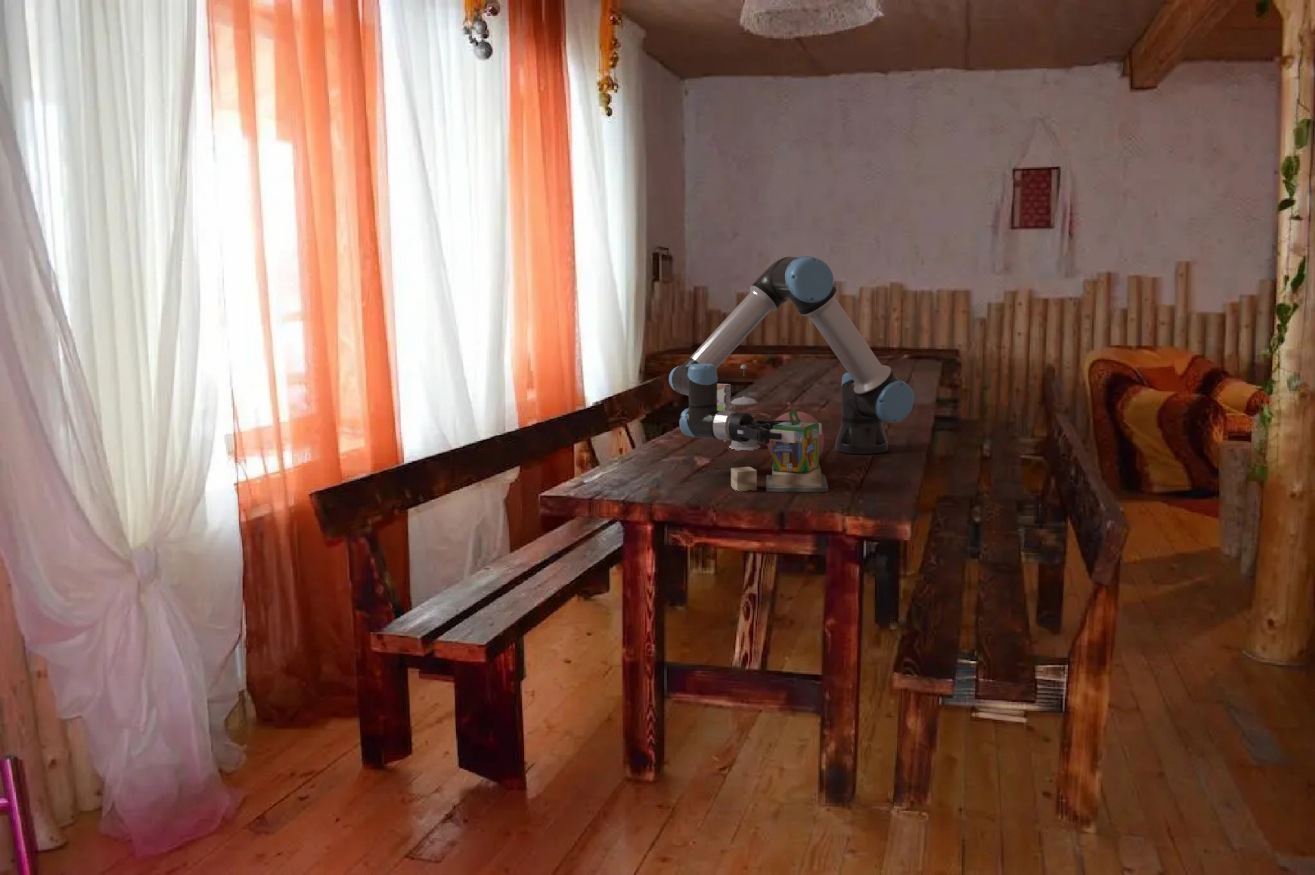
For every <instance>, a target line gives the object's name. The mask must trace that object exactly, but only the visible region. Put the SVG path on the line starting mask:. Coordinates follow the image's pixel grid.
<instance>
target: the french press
mask: <svg viewBox="0 0 1315 875" xmlns="http://www.w3.org/2000/svg"><path fill="white" fill-rule="evenodd" d="M747 368H748V367H747V365H746V364H741V365H740V369H743V370H742V371H743V373H742V374H743V375H745V369H747ZM757 404H758V401H757V400H756V399H754V398H752V397H748V396H745V395H743V396H742V397H741V396H740V397H737V398H734V399H733V400H731V406H730V407H728V408H729V410H730V408H731V411H732V412H735V411H736V406H743V413H746V412H745V406H755V405H757ZM728 408H727V409H728ZM733 408H734V409H733ZM727 409H726V410H727ZM726 410H725V411H726ZM729 410H728V411H729ZM749 414H750V415H751V416H752V417H753V420H754V421H756V420H757V419H754V418H756V417H757V415H756V414H754V413H749ZM728 447H729V448H731V449H735V450H734V451H740V450H748V451H755V450H754V449H756V450H759V449H758V448H760V447H761V445H760V444H758V441H756V440H752V439H750V440H749V441H747V442H739V441H733V440H732V441H731V444H730V445H729V446H728ZM729 448H728V449H729ZM731 449H730V450H731ZM760 449H761V448H760Z"/></svg>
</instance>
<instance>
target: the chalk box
mask: <svg viewBox="0 0 1315 875" xmlns="http://www.w3.org/2000/svg"><path fill="white" fill-rule="evenodd" d="M788 412H789V416H790V420H791V422H789V421H786V422H782V423H779V424H776V425H774V426H773V430H784V431H795V443H789V442H779V441H773V457H772V461H773V463H772V465H773V471H782V472H799V473H807V472H810V471H812V470H814V469H817V468H819V465H820V456H819V424H818V423H819V422H818V423H809V422H799V418H798V415H797V409H792V410H790V411H788ZM793 415H795V417H796V420H795V421H794V420H793V418H792V416H793Z"/></svg>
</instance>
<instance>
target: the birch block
mask: <svg viewBox="0 0 1315 875" xmlns="http://www.w3.org/2000/svg"><path fill="white" fill-rule="evenodd" d="M757 474H758V472H757V469H755V468H753V467H751V466H741V467H731V468H730V487H732V488H731V489H733V490H735V491H736V490H737V491H739V492H748V490H752V491H758V490H757V488H758V484H757V483H758V482H757V480H758V475H757ZM737 491H736V492H737Z"/></svg>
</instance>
